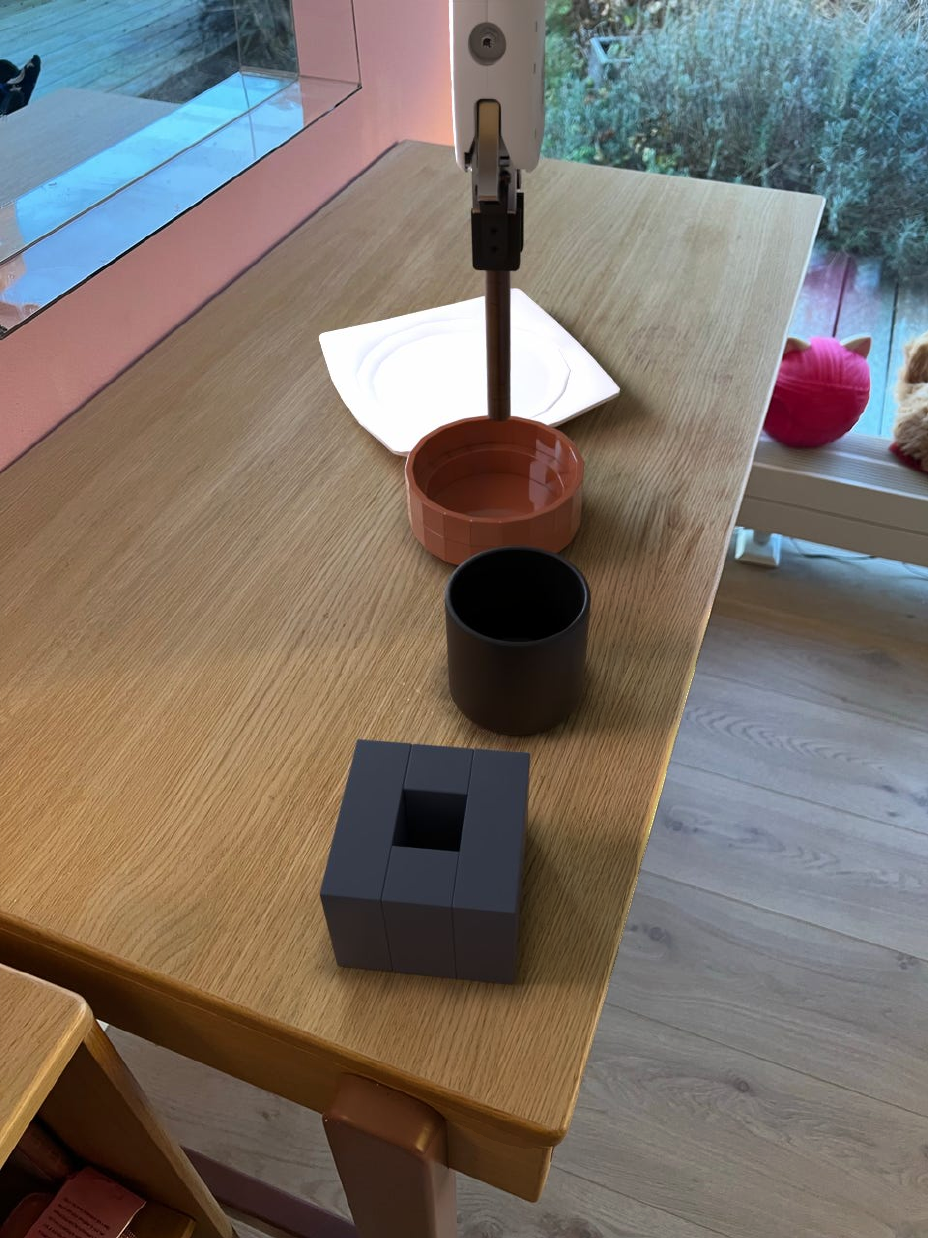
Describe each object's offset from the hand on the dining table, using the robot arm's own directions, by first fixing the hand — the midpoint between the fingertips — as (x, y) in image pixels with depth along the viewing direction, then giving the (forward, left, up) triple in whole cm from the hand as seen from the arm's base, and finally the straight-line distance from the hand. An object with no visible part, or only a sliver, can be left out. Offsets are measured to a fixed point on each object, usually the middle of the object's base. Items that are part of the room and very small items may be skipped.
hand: (498, 258), depth 68 cm
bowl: (0, +1, -22) cm, 22 cm away
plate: (+5, -19, -23) cm, 30 cm away
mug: (-3, +17, -23) cm, 29 cm away
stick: (0, 0, -13) cm, 13 cm away
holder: (0, +36, -22) cm, 42 cm away
